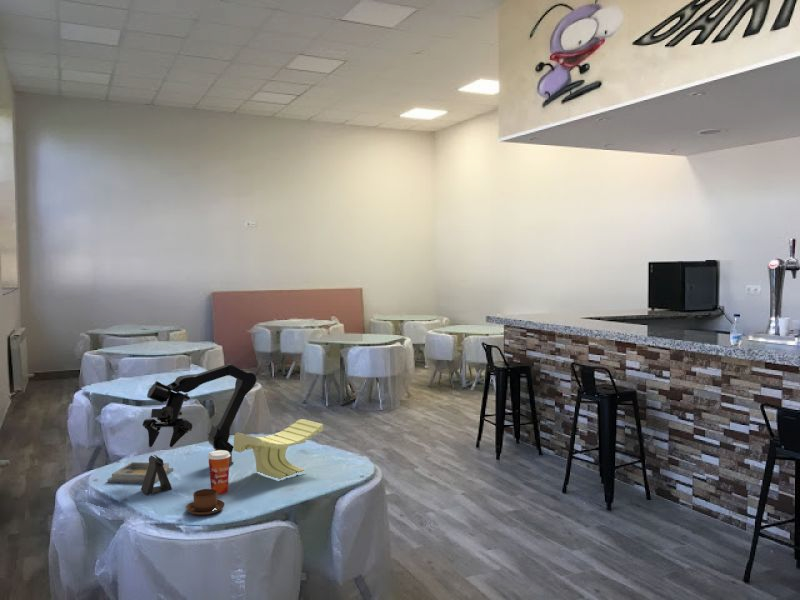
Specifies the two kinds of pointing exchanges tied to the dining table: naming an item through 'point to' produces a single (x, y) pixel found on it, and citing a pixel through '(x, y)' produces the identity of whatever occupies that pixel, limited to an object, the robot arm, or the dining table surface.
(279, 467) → the slatted curved stool
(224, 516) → the dining table surface
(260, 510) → the dining table surface
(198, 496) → the cup and saucer
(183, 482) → the dining table surface
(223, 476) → the paper cup
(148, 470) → the phone stand
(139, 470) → the square tray
